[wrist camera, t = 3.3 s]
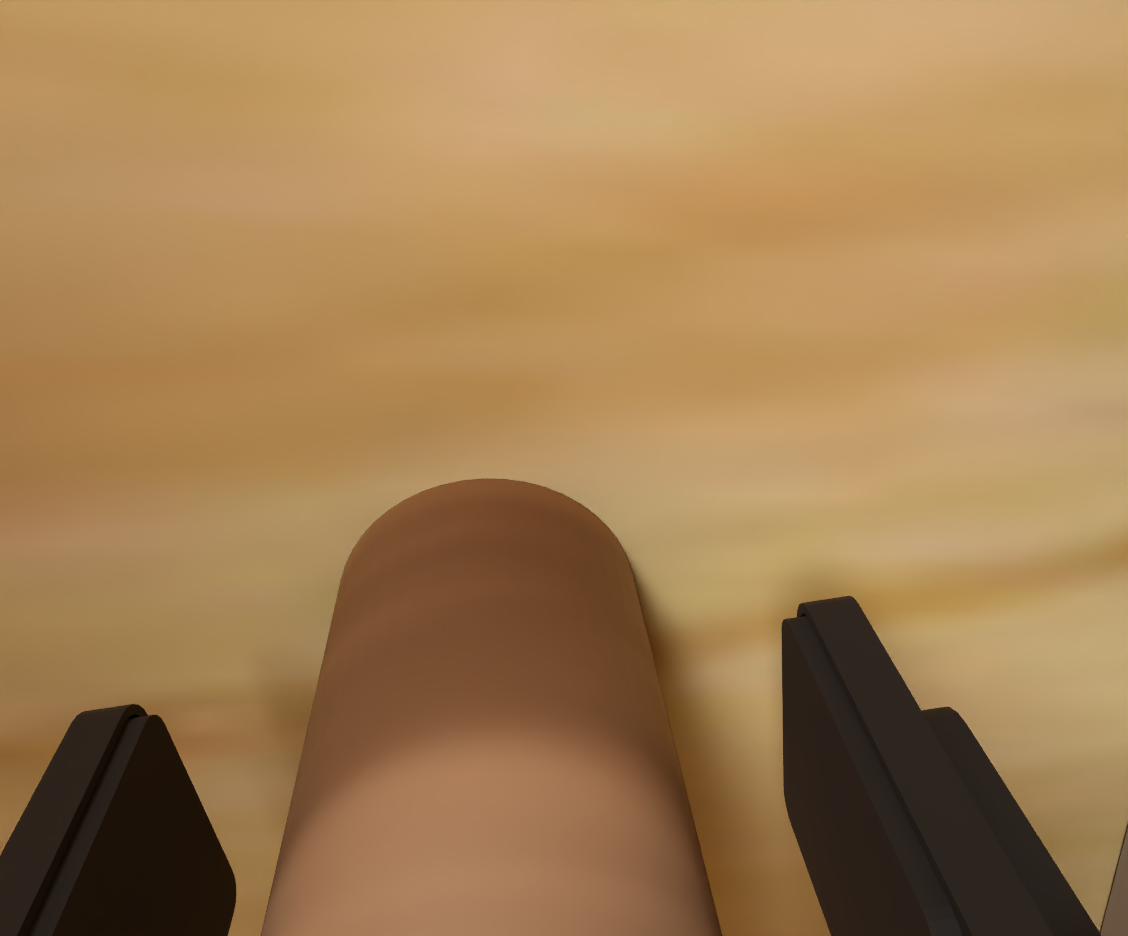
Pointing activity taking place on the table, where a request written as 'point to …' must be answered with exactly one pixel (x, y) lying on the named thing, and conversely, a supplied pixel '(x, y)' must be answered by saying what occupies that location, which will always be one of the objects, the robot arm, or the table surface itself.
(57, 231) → the table surface
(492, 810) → the walnut peg
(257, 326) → the table surface
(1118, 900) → the socket block
